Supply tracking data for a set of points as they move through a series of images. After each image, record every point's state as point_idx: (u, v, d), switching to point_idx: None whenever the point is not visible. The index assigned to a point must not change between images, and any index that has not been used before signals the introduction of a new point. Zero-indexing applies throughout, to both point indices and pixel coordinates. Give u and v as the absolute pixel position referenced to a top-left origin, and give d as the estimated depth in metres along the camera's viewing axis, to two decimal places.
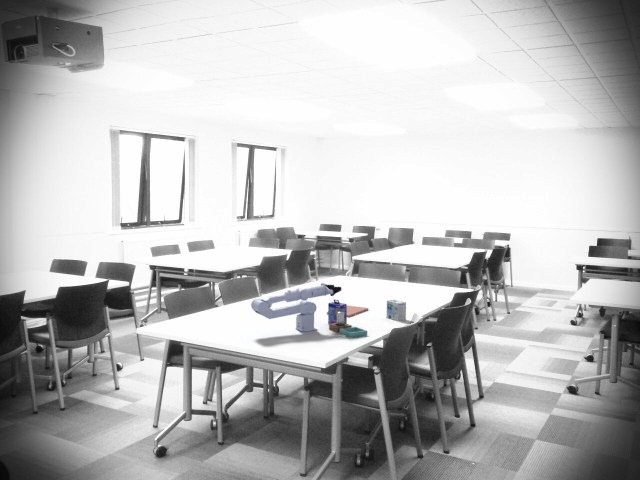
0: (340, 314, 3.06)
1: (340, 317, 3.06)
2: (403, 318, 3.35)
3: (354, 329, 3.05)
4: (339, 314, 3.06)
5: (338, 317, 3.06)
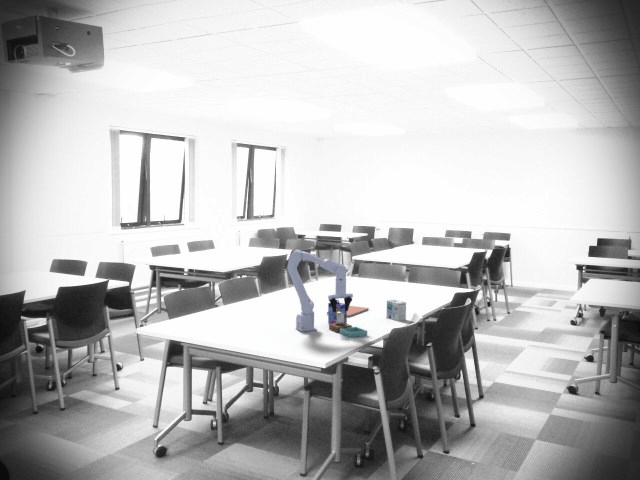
0: (340, 314, 3.06)
1: (340, 317, 3.06)
2: (403, 318, 3.35)
3: (354, 329, 3.05)
4: (339, 314, 3.06)
5: (338, 317, 3.06)
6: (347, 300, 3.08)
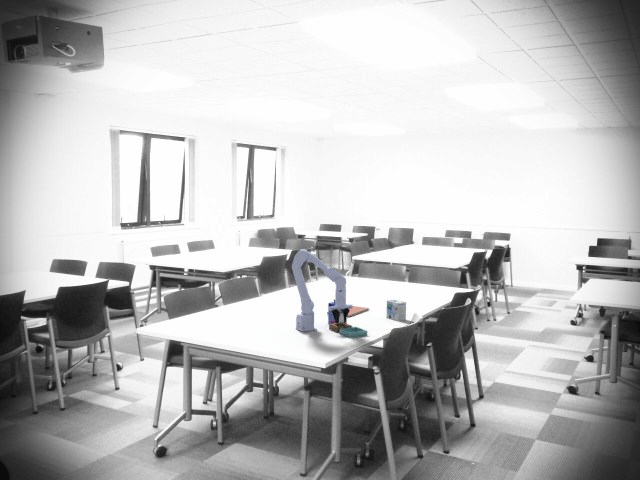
0: (340, 314, 3.06)
1: (340, 317, 3.06)
2: (403, 318, 3.35)
3: (354, 329, 3.05)
4: (339, 314, 3.06)
5: None
6: (345, 311, 3.08)
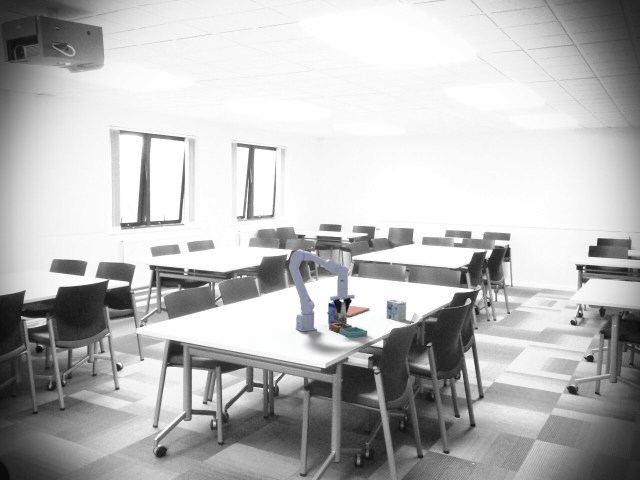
0: (342, 304, 3.04)
1: (342, 307, 3.04)
2: (403, 318, 3.35)
3: (354, 329, 3.05)
4: (341, 304, 3.04)
5: None
6: (346, 301, 3.06)
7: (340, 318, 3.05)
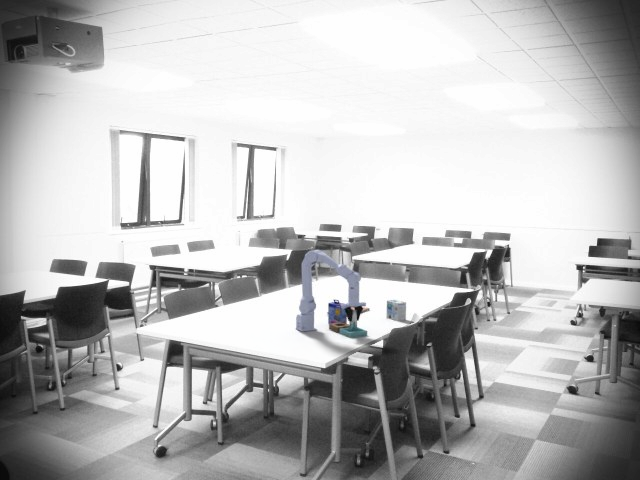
0: (353, 312, 2.96)
1: (353, 315, 2.96)
2: (403, 318, 3.35)
3: None
4: (352, 312, 2.96)
5: None
6: (358, 309, 2.98)
7: (351, 326, 2.97)
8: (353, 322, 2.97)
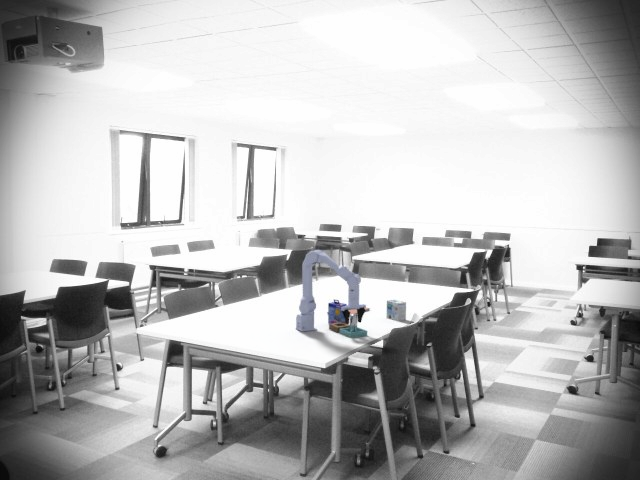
0: (353, 317, 2.96)
1: (353, 320, 2.97)
2: (403, 318, 3.35)
3: None
4: (352, 317, 2.97)
5: (351, 320, 2.97)
6: (360, 311, 2.99)
7: (351, 331, 2.97)
8: (353, 326, 2.97)
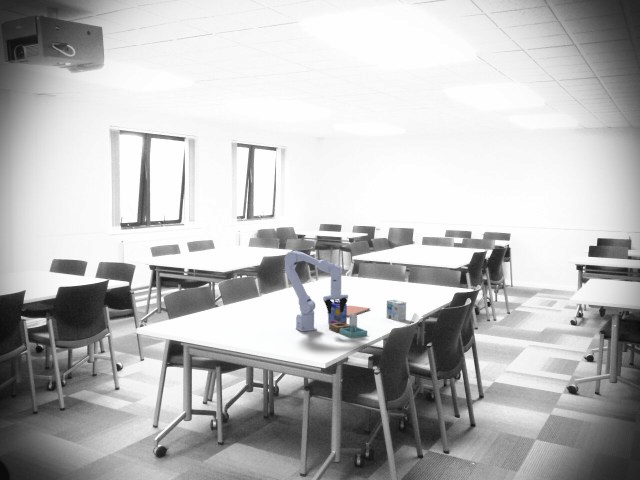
0: (353, 317, 2.96)
1: (353, 320, 2.97)
2: (403, 318, 3.35)
3: None
4: (352, 317, 2.97)
5: (351, 320, 2.97)
6: (342, 301, 3.05)
7: (351, 331, 2.97)
8: (353, 327, 2.97)
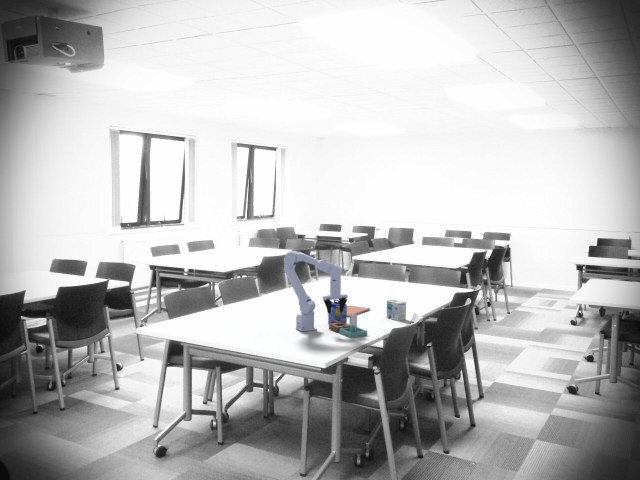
0: (353, 317, 2.96)
1: (353, 320, 2.97)
2: (403, 318, 3.35)
3: None
4: (352, 317, 2.96)
5: (351, 320, 2.97)
6: (342, 301, 3.05)
7: (351, 331, 2.97)
8: (353, 327, 2.97)
